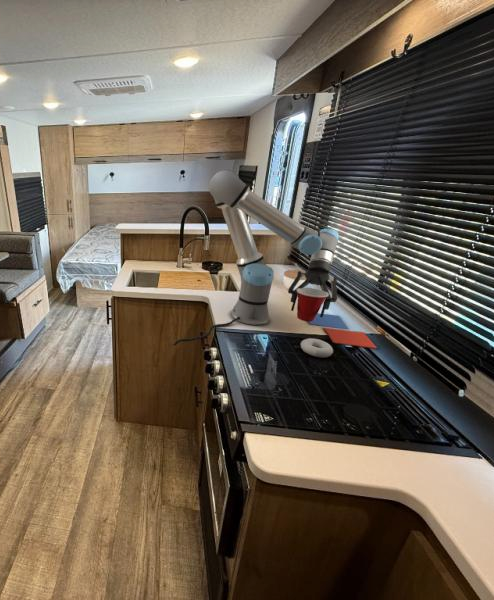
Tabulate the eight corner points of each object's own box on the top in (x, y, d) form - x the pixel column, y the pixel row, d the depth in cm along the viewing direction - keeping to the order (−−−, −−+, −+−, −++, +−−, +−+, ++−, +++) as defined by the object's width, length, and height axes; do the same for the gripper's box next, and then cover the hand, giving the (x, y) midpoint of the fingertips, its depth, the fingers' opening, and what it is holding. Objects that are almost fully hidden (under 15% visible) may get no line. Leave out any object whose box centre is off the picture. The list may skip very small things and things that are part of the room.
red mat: (377, 349, 113) (377, 348, 113) (333, 343, 117) (333, 342, 117) (363, 333, 123) (363, 332, 123) (323, 328, 127) (324, 327, 127)
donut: (326, 346, 115) (296, 342, 117) (328, 339, 113) (298, 334, 116) (335, 361, 106) (303, 356, 108) (338, 353, 104) (306, 348, 107)
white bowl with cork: (298, 295, 159) (303, 275, 155) (275, 288, 169) (280, 269, 165) (311, 290, 165) (316, 271, 161) (288, 283, 175) (293, 265, 171)
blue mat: (348, 329, 127) (348, 328, 126) (309, 324, 131) (310, 323, 130) (338, 316, 137) (338, 315, 137) (303, 312, 141) (303, 311, 141)
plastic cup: (312, 312, 128) (320, 286, 123) (326, 325, 118) (335, 296, 113) (285, 311, 129) (292, 285, 124) (296, 324, 119) (304, 295, 114)
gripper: (350, 273, 123) (338, 323, 117) (289, 263, 134) (275, 309, 129) (355, 263, 117) (342, 316, 111) (291, 254, 128) (276, 302, 122)
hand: (306, 312), depth 120 cm, fingers closed on plastic cup, 9 cm apart
